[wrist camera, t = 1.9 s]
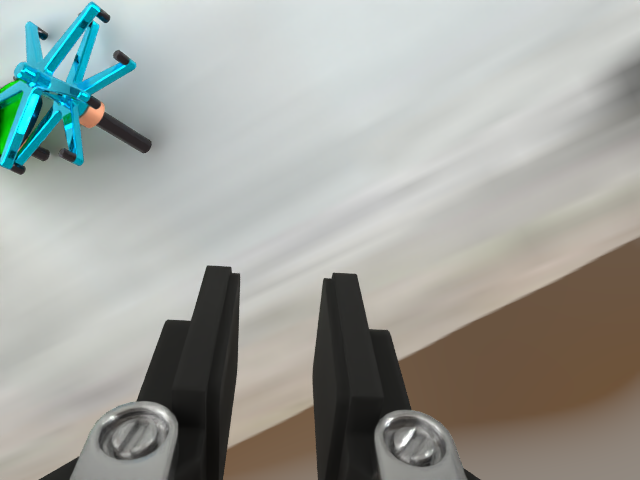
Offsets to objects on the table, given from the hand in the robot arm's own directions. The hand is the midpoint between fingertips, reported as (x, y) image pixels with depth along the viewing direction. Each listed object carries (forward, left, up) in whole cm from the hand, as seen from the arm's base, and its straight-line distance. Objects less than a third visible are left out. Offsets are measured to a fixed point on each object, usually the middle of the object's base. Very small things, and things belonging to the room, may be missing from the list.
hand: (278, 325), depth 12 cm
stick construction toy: (0, -11, -17) cm, 21 cm away
